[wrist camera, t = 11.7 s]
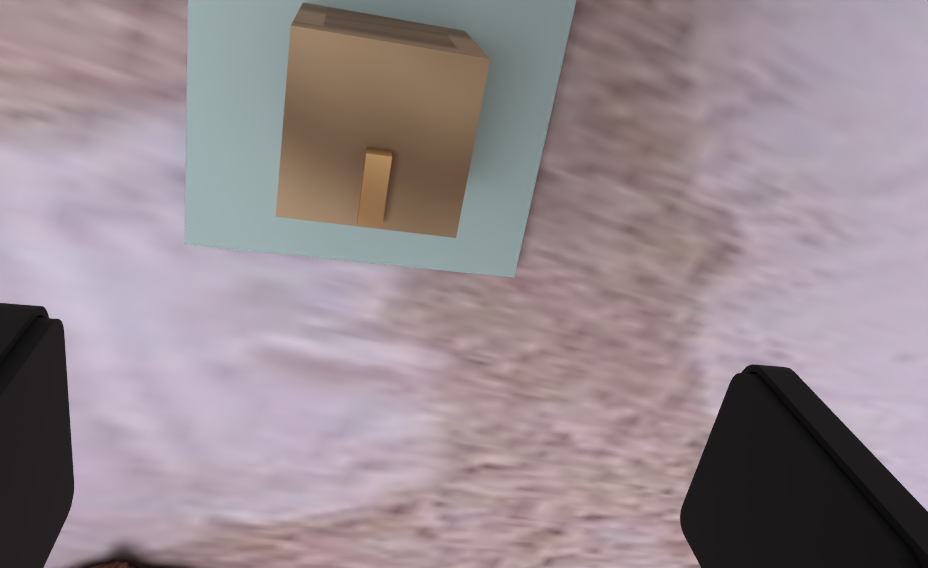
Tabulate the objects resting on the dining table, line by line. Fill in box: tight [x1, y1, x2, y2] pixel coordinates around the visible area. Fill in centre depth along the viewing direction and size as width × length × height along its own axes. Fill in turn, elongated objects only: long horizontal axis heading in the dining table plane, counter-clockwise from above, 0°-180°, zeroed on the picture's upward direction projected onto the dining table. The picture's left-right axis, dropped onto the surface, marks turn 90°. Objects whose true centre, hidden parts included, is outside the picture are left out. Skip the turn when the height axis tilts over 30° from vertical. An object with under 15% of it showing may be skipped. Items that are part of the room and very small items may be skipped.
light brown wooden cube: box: [276, 3, 490, 238], centre depth 26 cm, size 6×6×7 cm
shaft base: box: [185, 0, 576, 278], centre depth 27 cm, size 14×14×6 cm
